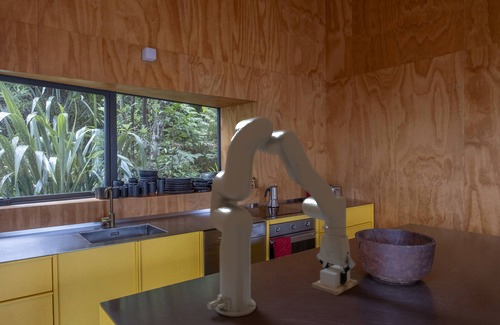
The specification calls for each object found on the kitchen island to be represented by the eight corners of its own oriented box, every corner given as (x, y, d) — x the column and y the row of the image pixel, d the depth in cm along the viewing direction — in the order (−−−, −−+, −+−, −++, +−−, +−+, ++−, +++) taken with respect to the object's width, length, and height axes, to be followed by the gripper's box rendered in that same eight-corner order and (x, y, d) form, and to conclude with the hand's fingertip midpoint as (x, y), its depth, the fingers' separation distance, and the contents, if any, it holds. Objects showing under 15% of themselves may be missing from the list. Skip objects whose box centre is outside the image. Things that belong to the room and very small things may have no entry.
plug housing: (334, 288, 119) (334, 275, 119) (320, 283, 123) (320, 270, 123) (349, 280, 126) (350, 268, 126) (335, 276, 130) (335, 264, 130)
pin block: (336, 295, 116) (336, 284, 116) (311, 287, 123) (311, 276, 123) (357, 284, 126) (357, 274, 126) (333, 277, 133) (333, 267, 133)
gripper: (309, 228, 128) (309, 277, 128) (351, 236, 115) (351, 290, 116) (320, 225, 133) (321, 272, 133) (362, 233, 120) (362, 284, 121)
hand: (335, 280), depth 124 cm, fingers closed on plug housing, 5 cm apart
